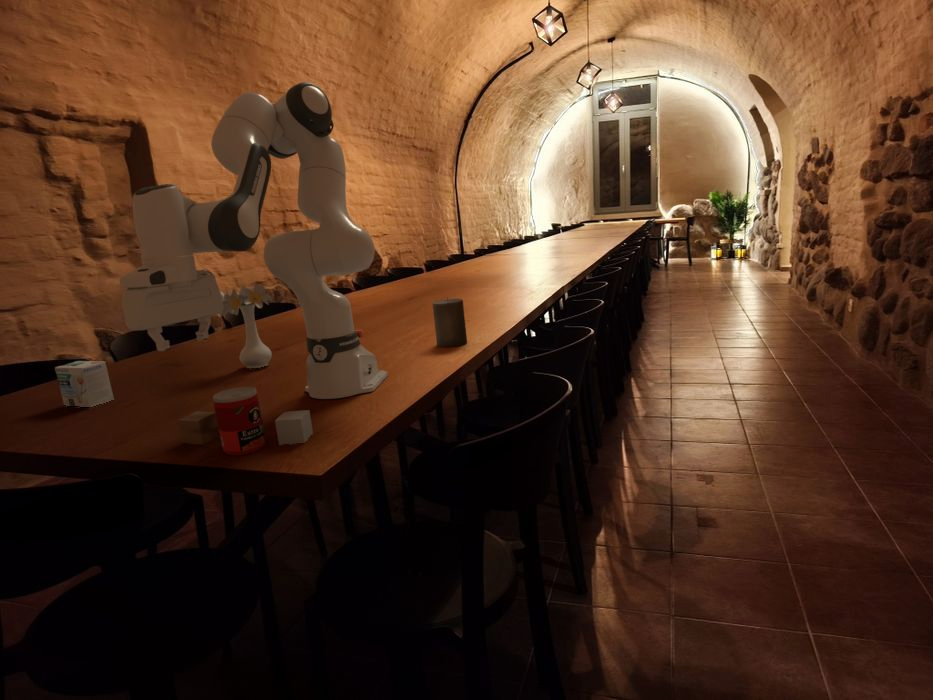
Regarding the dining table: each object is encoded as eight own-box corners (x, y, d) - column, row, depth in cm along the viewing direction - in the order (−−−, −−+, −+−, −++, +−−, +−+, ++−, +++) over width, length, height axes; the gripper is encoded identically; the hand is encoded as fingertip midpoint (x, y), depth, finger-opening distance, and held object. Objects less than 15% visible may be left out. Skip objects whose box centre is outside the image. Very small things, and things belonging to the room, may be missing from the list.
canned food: (247, 457, 105) (236, 400, 103) (213, 454, 108) (202, 398, 106) (275, 441, 112) (265, 387, 110) (242, 438, 115) (232, 385, 113)
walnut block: (201, 434, 120) (196, 411, 119) (220, 435, 119) (216, 412, 118) (182, 443, 116) (177, 420, 115) (203, 444, 114) (198, 420, 113)
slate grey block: (288, 435, 115) (284, 411, 114) (313, 433, 115) (309, 410, 113) (279, 445, 110) (274, 420, 109) (304, 443, 110) (300, 418, 109)
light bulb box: (63, 407, 151) (53, 367, 149) (88, 398, 157) (78, 360, 155) (91, 408, 147) (81, 367, 145) (115, 400, 153) (106, 360, 151)
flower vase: (242, 362, 185) (227, 283, 179) (293, 360, 180) (280, 280, 174) (215, 373, 173) (198, 289, 167) (269, 372, 168) (254, 286, 162)
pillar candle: (472, 343, 182) (468, 295, 179) (445, 348, 177) (440, 300, 174) (457, 339, 190) (453, 293, 187) (431, 344, 185) (426, 298, 182)
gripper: (201, 269, 120) (212, 334, 123) (110, 280, 102) (126, 356, 104) (224, 267, 118) (235, 334, 121) (136, 278, 99) (151, 356, 102)
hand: (184, 345), depth 112 cm, fingers open, 8 cm apart
